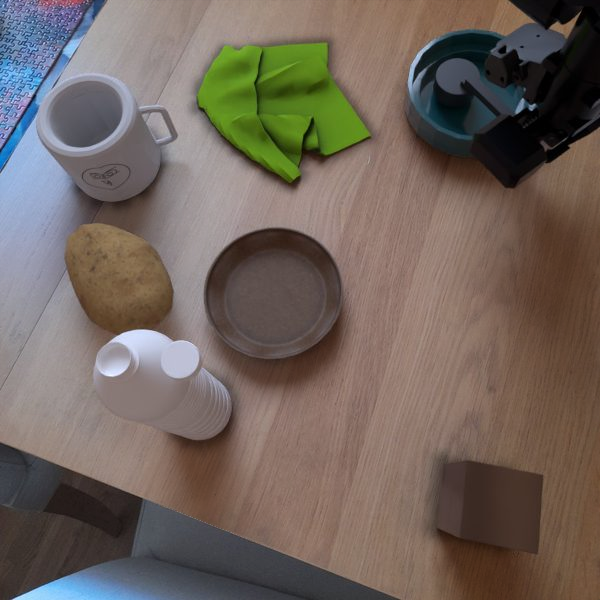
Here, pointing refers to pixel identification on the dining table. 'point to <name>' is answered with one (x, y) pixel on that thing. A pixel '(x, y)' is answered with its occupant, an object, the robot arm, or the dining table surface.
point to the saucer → (273, 293)
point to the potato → (118, 278)
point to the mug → (101, 136)
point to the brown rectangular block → (491, 505)
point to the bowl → (449, 120)
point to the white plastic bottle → (161, 385)
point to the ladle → (465, 87)
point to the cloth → (279, 104)
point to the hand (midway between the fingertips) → (534, 158)
